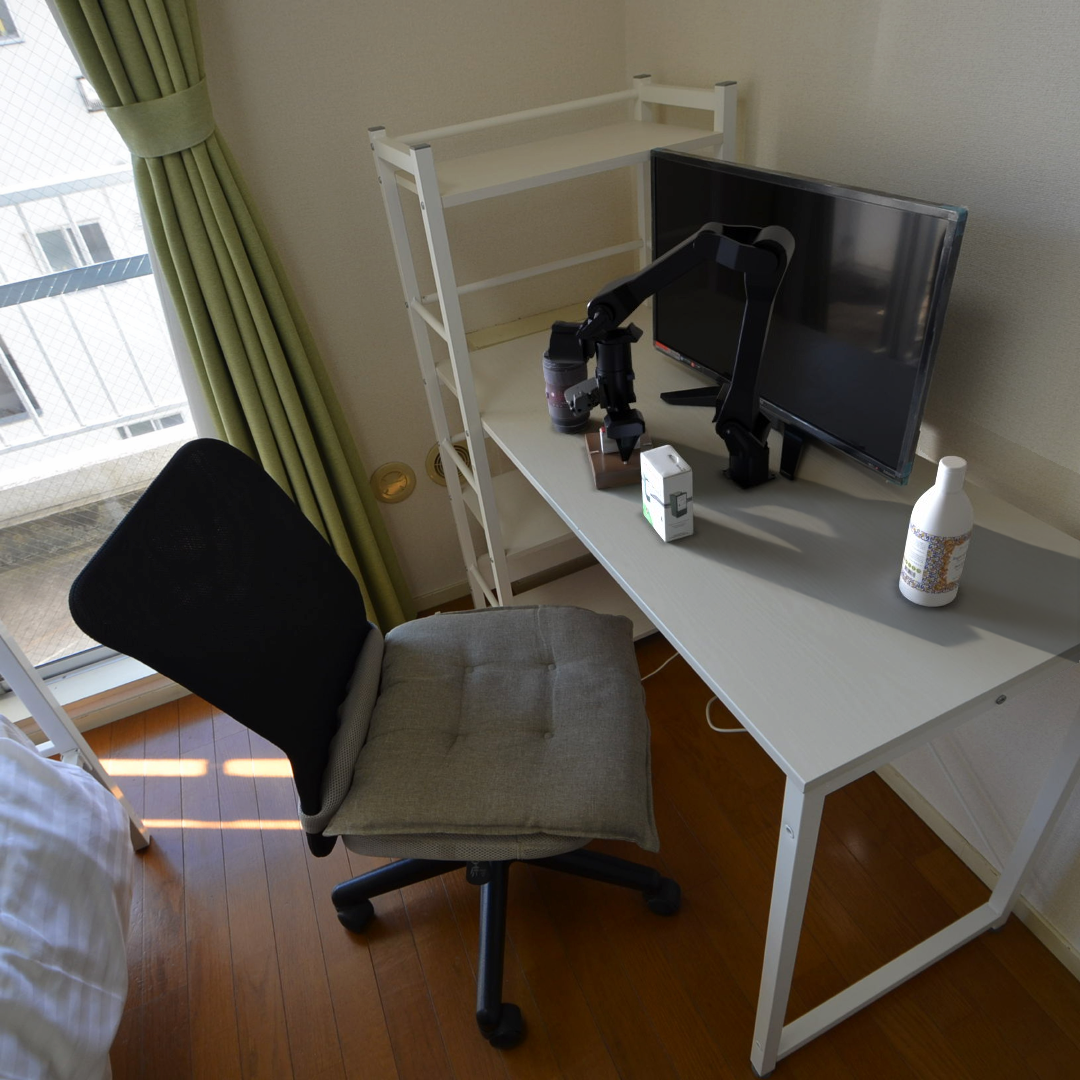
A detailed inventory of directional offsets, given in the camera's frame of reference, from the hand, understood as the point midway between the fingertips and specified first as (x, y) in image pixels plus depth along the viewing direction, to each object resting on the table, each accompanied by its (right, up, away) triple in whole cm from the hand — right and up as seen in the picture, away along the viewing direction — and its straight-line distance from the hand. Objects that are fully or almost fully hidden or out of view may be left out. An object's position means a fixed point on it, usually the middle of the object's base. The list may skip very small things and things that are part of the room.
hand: (620, 447), depth 139 cm
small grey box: (0, 0, 0) cm, 0 cm away
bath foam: (+37, -23, -33) cm, 55 cm away
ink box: (+6, -14, -14) cm, 20 cm away
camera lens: (-8, +6, +15) cm, 18 cm away
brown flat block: (0, -3, +2) cm, 3 cm away
